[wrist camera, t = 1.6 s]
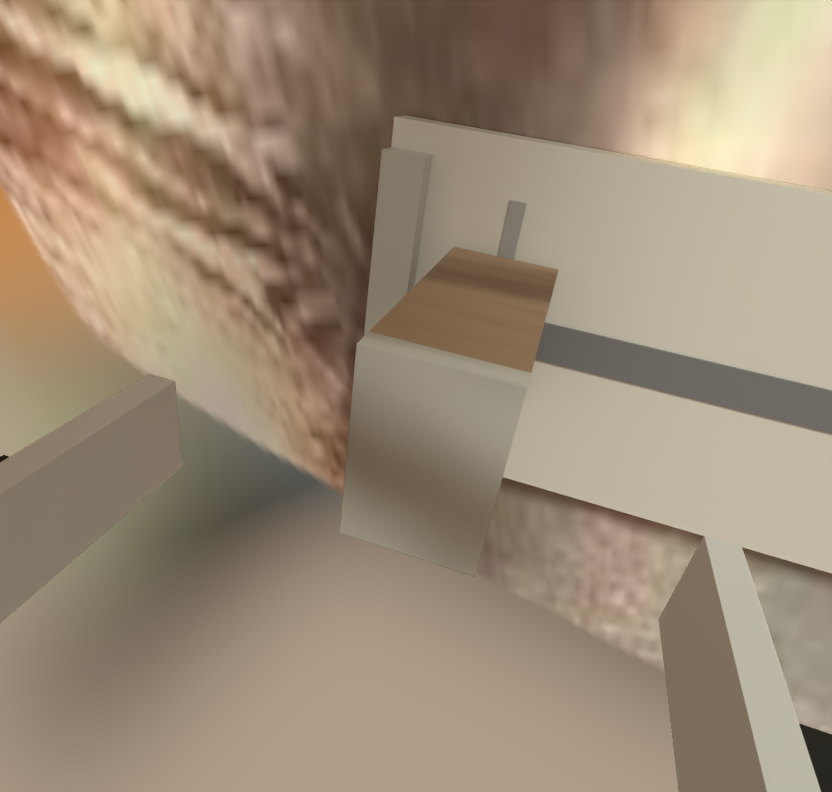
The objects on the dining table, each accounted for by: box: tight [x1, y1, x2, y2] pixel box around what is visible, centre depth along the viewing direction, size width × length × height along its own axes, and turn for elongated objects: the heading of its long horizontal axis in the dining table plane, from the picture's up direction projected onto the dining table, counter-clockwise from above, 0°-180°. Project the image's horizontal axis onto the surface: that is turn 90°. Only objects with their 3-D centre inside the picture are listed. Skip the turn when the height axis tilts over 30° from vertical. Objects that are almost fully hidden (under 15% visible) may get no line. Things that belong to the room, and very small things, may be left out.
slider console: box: [364, 116, 832, 573], centre depth 21 cm, size 14×30×2 cm, turn 82°
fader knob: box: [340, 247, 558, 577], centre depth 18 cm, size 6×4×10 cm, turn 172°
